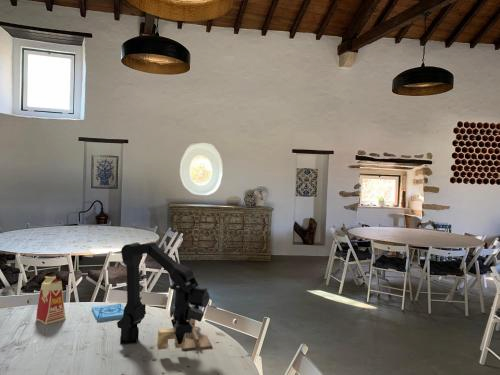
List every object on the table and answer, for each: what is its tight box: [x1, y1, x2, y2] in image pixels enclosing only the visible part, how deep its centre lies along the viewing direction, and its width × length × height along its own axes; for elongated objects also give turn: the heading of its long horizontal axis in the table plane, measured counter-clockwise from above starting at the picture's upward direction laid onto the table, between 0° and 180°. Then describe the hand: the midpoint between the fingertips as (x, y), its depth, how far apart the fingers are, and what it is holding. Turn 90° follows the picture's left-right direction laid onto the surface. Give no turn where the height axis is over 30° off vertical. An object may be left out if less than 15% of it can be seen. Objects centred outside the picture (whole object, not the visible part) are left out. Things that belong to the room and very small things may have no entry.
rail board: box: [181, 329, 213, 351], centre depth 159 cm, size 12×10×4 cm
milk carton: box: [35, 275, 66, 325], centre depth 173 cm, size 9×9×20 cm
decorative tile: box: [91, 303, 125, 322], centre depth 184 cm, size 14×14×2 cm
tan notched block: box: [156, 327, 187, 350], centre depth 148 cm, size 10×3×6 cm, turn 108°
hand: (179, 341), depth 149 cm, fingers closed on tan notched block, 3 cm apart
